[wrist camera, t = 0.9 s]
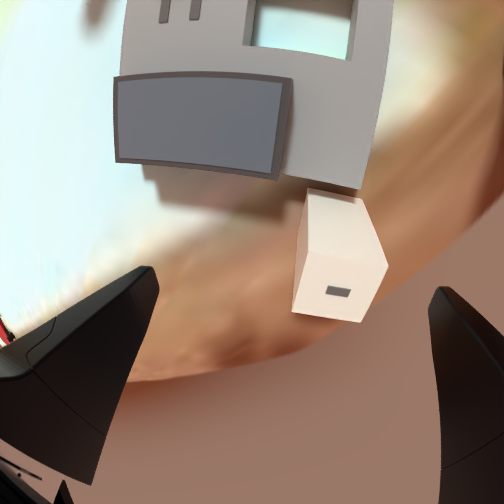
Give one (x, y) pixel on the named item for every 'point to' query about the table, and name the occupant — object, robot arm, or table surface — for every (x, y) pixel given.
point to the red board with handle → (5, 334)
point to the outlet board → (276, 74)
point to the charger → (336, 258)
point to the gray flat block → (202, 121)
